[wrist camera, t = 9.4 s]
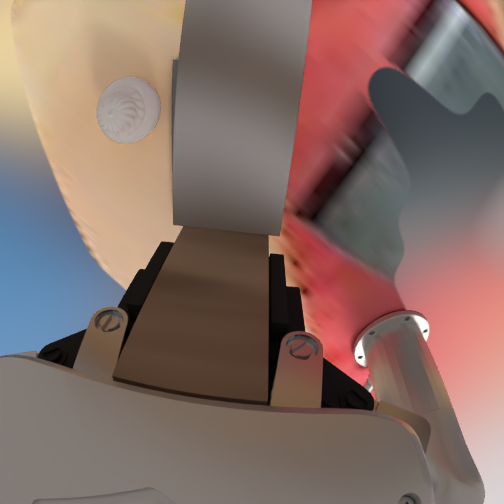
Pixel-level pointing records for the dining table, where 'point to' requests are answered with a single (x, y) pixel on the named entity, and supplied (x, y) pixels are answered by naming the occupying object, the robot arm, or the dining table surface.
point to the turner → (223, 202)
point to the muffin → (128, 110)
